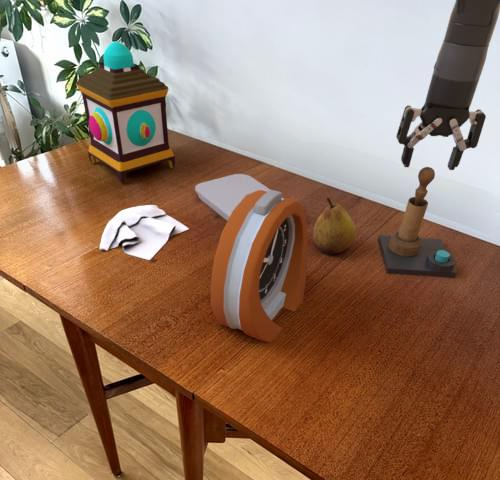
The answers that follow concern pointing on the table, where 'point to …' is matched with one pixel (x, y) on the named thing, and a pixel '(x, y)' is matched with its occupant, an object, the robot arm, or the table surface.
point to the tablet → (227, 192)
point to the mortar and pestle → (412, 219)
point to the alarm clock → (260, 264)
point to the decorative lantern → (125, 114)
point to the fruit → (333, 230)
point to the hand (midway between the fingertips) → (428, 167)
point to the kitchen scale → (417, 260)
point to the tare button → (442, 256)
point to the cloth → (140, 231)
